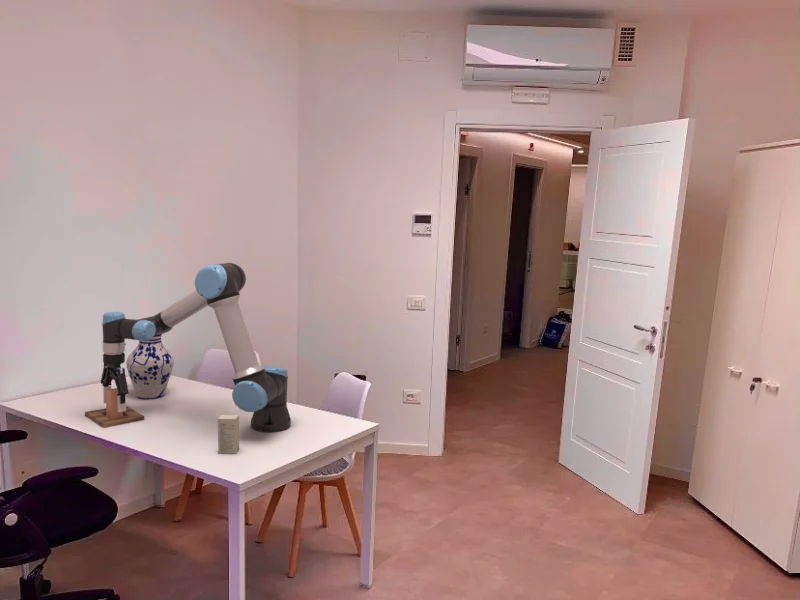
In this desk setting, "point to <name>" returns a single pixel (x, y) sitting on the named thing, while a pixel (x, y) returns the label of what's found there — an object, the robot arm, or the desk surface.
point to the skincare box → (228, 434)
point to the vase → (150, 368)
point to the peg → (112, 404)
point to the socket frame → (104, 421)
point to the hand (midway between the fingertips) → (114, 407)
